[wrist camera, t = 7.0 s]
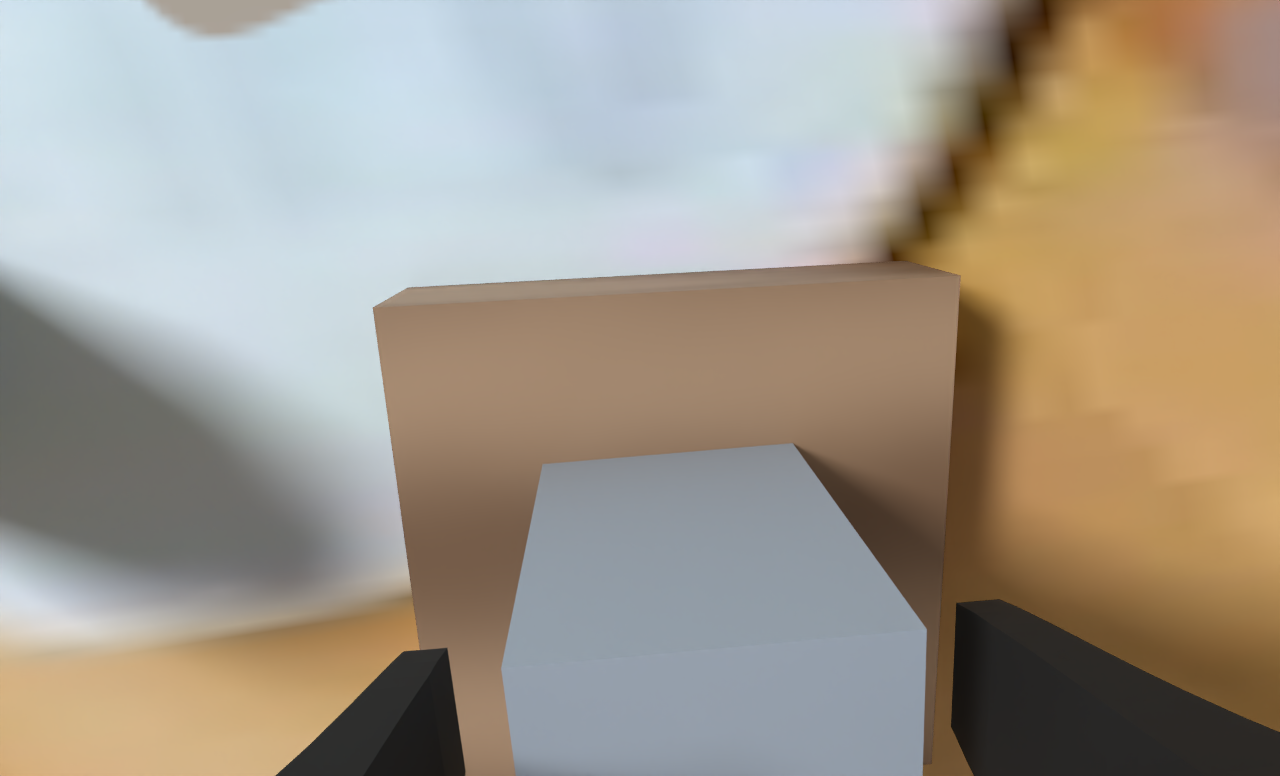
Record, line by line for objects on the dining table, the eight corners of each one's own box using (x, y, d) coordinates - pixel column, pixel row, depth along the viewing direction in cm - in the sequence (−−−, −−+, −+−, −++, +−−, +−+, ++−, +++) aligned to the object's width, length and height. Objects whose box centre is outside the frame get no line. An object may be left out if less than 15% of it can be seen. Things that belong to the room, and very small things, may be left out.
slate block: (796, 660, 15) (917, 956, 9) (566, 682, 15) (546, 994, 9) (792, 443, 14) (926, 629, 8) (542, 464, 14) (500, 668, 8)
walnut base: (880, 674, 19) (931, 764, 16) (465, 704, 19) (440, 801, 16) (896, 258, 16) (960, 275, 13) (413, 284, 16) (372, 307, 13)
